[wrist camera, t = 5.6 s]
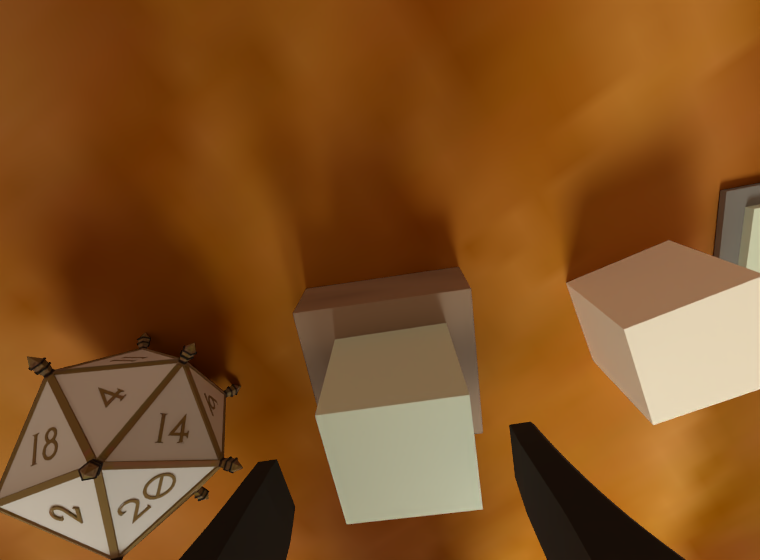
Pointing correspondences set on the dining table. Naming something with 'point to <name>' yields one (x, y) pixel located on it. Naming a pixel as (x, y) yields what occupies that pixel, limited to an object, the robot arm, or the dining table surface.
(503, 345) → the dining table surface
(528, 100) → the dining table surface
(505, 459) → the dining table surface
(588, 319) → the cream cube
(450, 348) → the sage cube
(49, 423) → the game die
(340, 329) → the walnut base
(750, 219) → the tile
